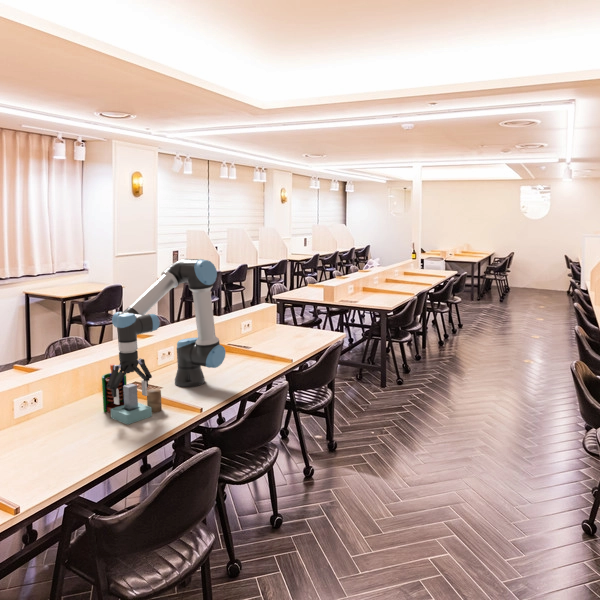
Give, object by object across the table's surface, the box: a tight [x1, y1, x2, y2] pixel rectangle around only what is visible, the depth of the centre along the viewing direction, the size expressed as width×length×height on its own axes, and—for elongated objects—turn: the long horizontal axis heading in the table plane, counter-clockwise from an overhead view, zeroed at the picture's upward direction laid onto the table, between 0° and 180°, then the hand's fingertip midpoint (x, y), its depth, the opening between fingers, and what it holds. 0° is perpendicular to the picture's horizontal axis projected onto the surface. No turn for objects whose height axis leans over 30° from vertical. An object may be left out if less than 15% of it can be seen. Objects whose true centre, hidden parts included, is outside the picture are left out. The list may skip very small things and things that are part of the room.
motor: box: [101, 363, 128, 414], centre depth 236 cm, size 10×9×20 cm
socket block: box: [110, 402, 153, 425], centre depth 228 cm, size 12×12×4 cm
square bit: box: [123, 383, 139, 411], centre depth 227 cm, size 4×4×14 cm
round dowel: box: [146, 388, 163, 414], centre depth 235 cm, size 6×6×9 cm
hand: (131, 399), depth 227 cm, fingers open, 13 cm apart
